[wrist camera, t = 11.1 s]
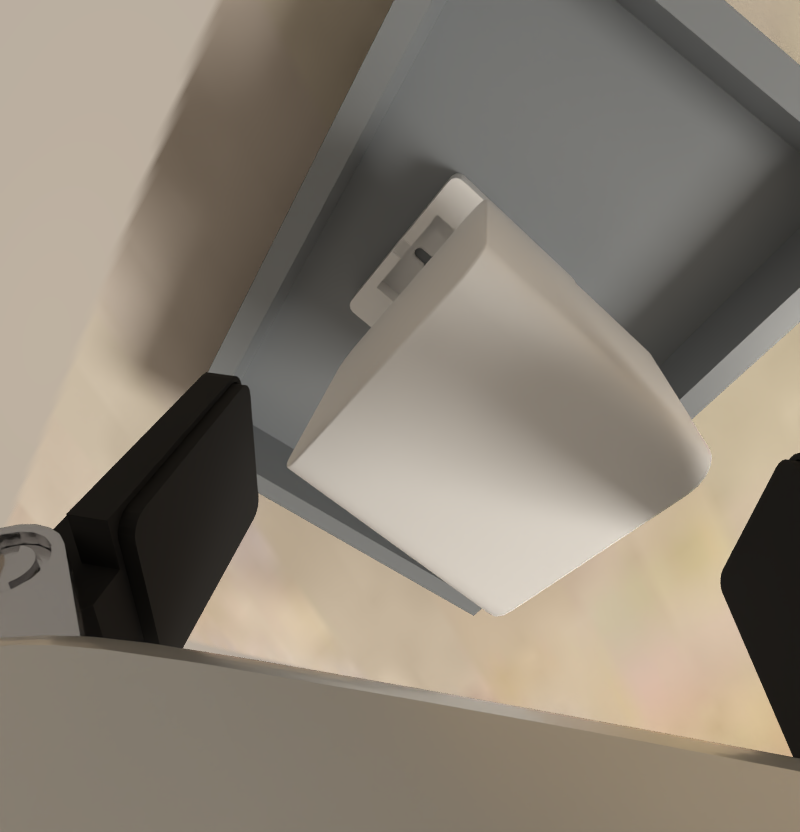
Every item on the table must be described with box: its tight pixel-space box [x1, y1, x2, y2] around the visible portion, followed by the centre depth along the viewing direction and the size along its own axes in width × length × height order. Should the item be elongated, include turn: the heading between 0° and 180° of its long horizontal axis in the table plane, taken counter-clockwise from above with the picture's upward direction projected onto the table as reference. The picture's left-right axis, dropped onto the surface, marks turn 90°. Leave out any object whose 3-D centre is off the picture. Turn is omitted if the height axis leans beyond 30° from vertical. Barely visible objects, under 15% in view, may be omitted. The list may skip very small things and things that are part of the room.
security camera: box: [287, 173, 712, 616], centre depth 16 cm, size 6×7×10 cm
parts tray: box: [208, 0, 800, 616], centre depth 19 cm, size 20×14×4 cm
